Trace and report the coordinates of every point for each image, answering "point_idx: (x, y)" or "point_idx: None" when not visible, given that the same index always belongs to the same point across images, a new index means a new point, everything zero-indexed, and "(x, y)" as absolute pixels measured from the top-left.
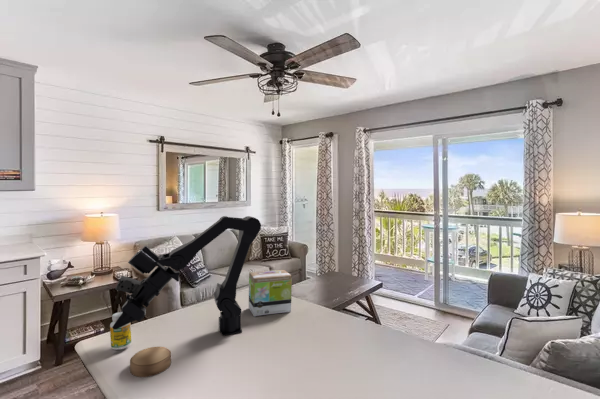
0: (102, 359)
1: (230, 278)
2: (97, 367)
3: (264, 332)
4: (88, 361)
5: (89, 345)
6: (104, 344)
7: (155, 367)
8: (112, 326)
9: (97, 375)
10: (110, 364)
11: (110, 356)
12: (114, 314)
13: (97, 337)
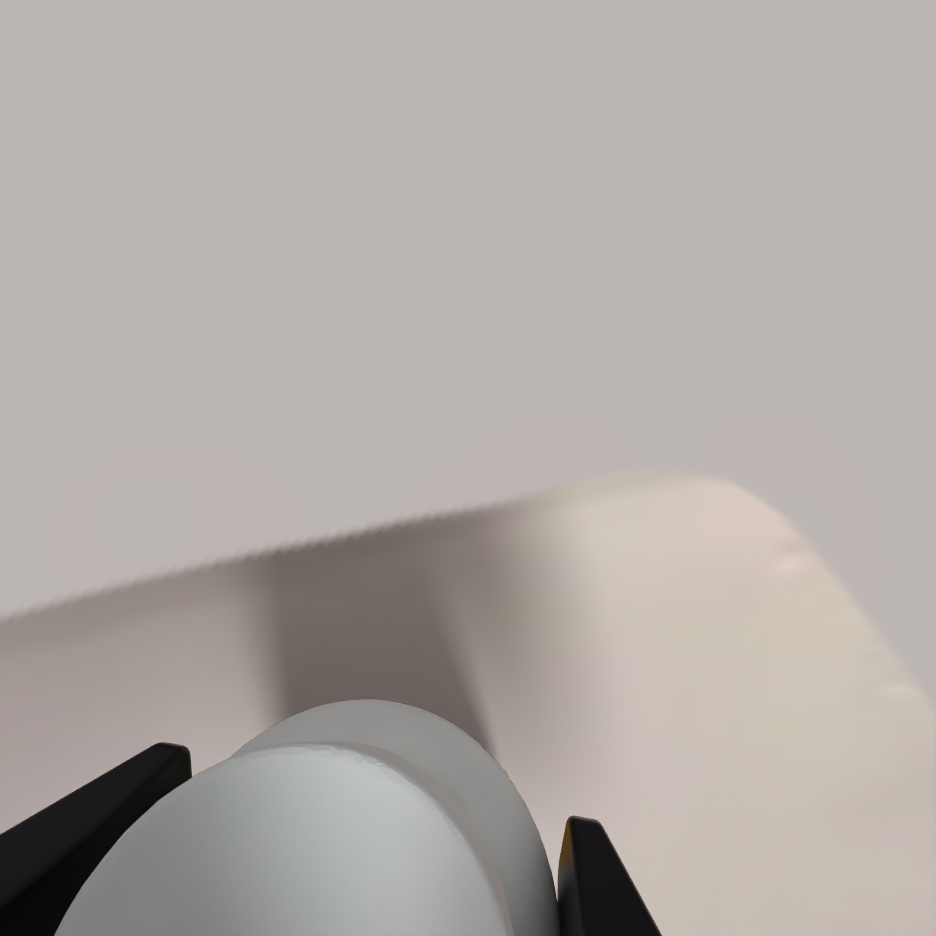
0: (277, 650)
1: None
2: (152, 614)
3: None
4: (317, 543)
5: (649, 531)
6: (615, 660)
7: None
8: (244, 746)
9: (11, 620)
10: (120, 723)
11: None
12: (357, 813)
13: (825, 588)
